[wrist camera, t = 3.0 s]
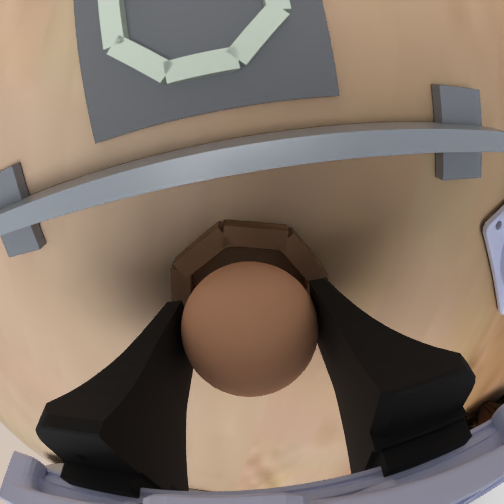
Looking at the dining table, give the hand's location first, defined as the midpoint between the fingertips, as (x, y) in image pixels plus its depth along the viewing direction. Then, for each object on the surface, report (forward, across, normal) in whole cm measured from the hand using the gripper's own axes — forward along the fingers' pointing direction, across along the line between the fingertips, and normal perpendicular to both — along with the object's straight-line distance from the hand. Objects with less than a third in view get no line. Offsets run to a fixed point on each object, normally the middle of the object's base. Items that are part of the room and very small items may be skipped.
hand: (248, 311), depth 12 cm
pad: (+1, 0, -12) cm, 12 cm away
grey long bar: (+1, 0, -6) cm, 6 cm away
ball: (+1, 0, 0) cm, 1 cm away
